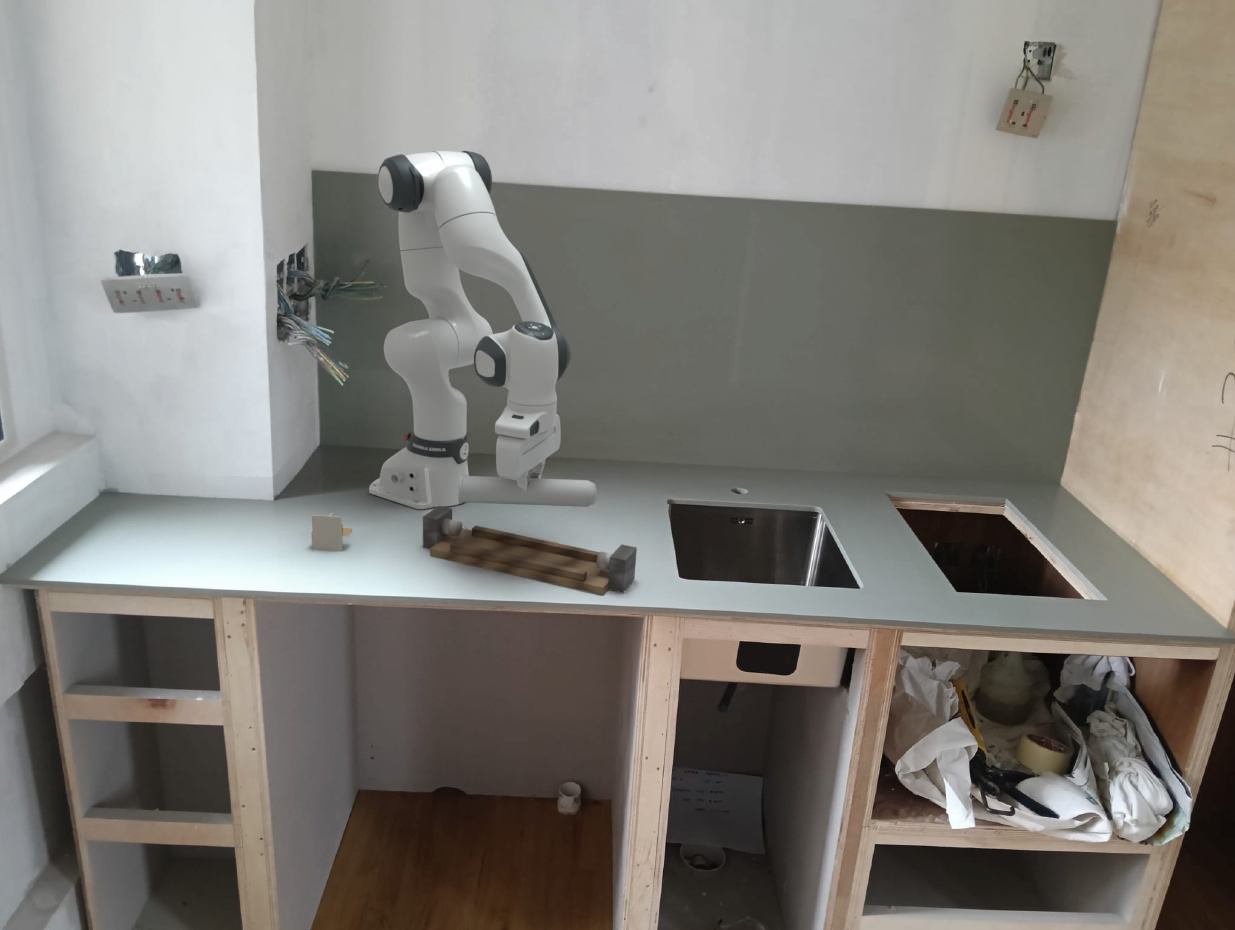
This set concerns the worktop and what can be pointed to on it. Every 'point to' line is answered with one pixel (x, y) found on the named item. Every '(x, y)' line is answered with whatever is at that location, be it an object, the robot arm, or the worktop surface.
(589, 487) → the tube
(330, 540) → the architectural model
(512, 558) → the shaft bed
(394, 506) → the worktop surface
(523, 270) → the robot arm
